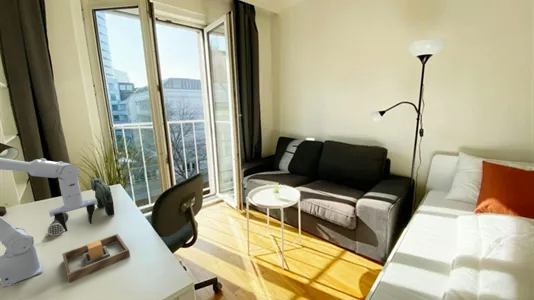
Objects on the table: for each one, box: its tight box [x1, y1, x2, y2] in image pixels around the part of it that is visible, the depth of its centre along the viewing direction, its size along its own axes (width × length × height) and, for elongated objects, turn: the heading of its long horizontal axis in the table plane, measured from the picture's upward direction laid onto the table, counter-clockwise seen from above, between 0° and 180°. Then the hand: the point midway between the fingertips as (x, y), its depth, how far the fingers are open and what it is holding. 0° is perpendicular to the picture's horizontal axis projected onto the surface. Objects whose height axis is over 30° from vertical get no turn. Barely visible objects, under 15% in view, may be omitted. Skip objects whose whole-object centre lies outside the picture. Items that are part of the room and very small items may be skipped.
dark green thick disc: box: [90, 174, 115, 217], centre depth 129 cm, size 20×6×20 cm, turn 48°
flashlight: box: [47, 212, 70, 236], centre depth 114 cm, size 15×5×5 cm, turn 31°
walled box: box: [62, 233, 131, 283], centre depth 91 cm, size 18×16×3 cm
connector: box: [86, 239, 105, 261], centre depth 90 cm, size 4×4×6 cm
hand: (78, 226), depth 96 cm, fingers open, 7 cm apart
